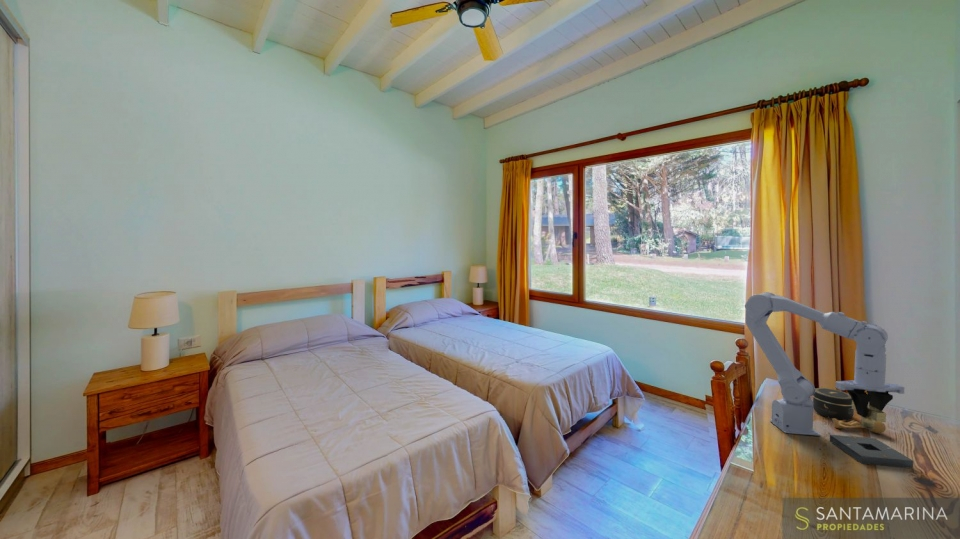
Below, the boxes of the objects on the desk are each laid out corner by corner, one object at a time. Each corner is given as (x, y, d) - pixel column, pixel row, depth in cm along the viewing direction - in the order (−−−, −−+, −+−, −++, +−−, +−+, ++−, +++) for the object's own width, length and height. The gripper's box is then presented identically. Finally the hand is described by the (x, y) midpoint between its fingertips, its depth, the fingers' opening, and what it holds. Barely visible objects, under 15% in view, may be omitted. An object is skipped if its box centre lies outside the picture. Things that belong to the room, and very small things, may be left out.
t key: (850, 420, 102) (851, 400, 101) (860, 420, 101) (861, 400, 101) (875, 434, 94) (876, 412, 93) (886, 434, 93) (886, 413, 93)
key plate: (861, 463, 92) (861, 455, 92) (829, 441, 103) (829, 434, 102) (913, 468, 90) (913, 460, 89) (874, 444, 100) (875, 437, 100)
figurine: (895, 425, 102) (841, 410, 107) (891, 445, 102) (838, 429, 107) (876, 419, 110) (827, 405, 115) (873, 438, 109) (824, 423, 114)
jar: (807, 412, 121) (807, 390, 120) (819, 405, 125) (819, 385, 125) (847, 424, 112) (848, 401, 112) (858, 417, 117) (859, 395, 116)
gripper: (850, 372, 94) (848, 420, 95) (916, 375, 91) (914, 425, 92) (830, 363, 101) (828, 409, 102) (891, 366, 98) (889, 413, 99)
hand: (867, 416), depth 97 cm, fingers closed on t key, 2 cm apart
